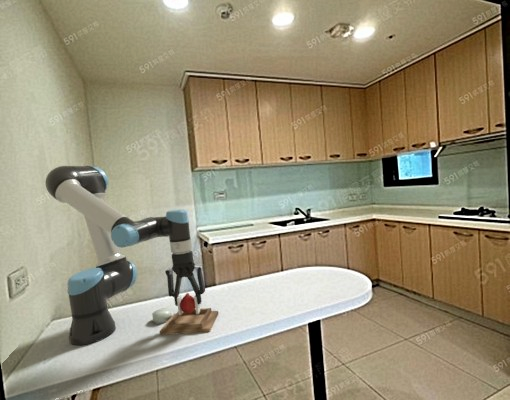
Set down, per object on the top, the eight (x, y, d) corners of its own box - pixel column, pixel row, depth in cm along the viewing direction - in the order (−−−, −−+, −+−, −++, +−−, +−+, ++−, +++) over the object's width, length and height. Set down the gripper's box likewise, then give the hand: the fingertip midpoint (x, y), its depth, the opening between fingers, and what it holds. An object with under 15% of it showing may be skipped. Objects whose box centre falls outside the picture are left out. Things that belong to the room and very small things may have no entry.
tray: (159, 334, 107) (159, 327, 107) (174, 316, 121) (173, 309, 121) (209, 331, 105) (208, 324, 105) (218, 313, 119) (217, 307, 119)
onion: (182, 319, 109) (180, 297, 108) (180, 313, 114) (177, 292, 113) (198, 314, 111) (196, 293, 110) (195, 309, 116) (193, 289, 116)
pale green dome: (150, 324, 116) (149, 316, 116) (157, 316, 123) (156, 308, 123) (167, 323, 115) (166, 315, 115) (174, 314, 122) (173, 307, 122)
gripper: (152, 256, 108) (161, 319, 110) (204, 251, 107) (212, 315, 108) (161, 251, 116) (169, 310, 117) (209, 247, 114) (216, 307, 115)
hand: (189, 312), depth 113 cm, fingers closed on onion, 6 cm apart
